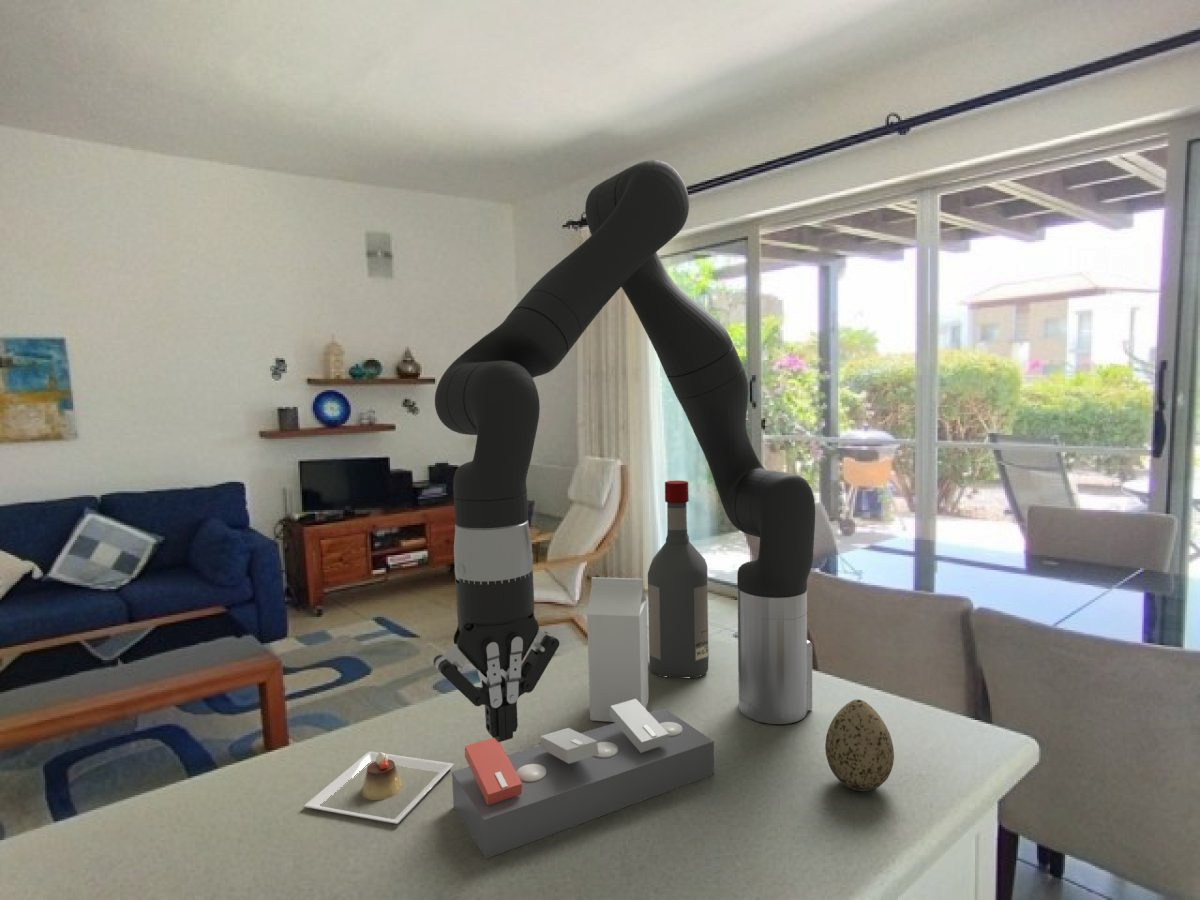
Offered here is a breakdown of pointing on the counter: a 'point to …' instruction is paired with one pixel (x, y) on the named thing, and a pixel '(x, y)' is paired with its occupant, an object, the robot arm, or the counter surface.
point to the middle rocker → (569, 745)
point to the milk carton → (616, 645)
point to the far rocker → (638, 725)
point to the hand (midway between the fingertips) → (502, 737)
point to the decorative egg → (859, 747)
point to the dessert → (380, 781)
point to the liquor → (678, 596)
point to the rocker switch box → (581, 784)
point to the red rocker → (493, 771)
